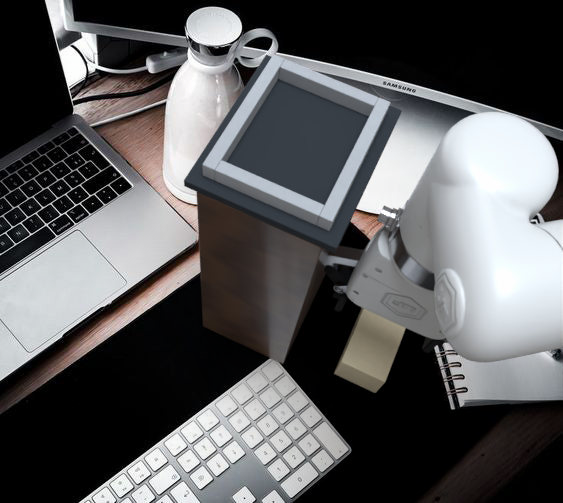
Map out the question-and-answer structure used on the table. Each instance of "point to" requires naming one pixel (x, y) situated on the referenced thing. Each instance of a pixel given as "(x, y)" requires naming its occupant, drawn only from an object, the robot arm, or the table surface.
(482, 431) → the table surface
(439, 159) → the robot arm
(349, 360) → the beige rectangular block
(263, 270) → the riser
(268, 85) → the base pad
